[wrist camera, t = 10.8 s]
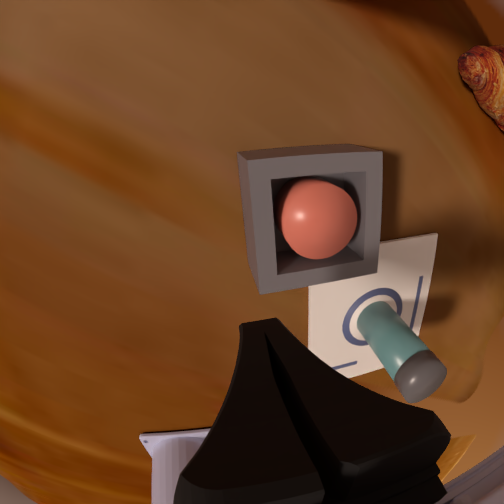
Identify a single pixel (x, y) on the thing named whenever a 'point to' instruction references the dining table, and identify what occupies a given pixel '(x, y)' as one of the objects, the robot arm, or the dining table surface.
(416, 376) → the marker
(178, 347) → the dining table surface
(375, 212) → the button housing
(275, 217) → the button
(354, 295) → the paper sheet
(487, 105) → the croissant
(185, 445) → the robot arm
